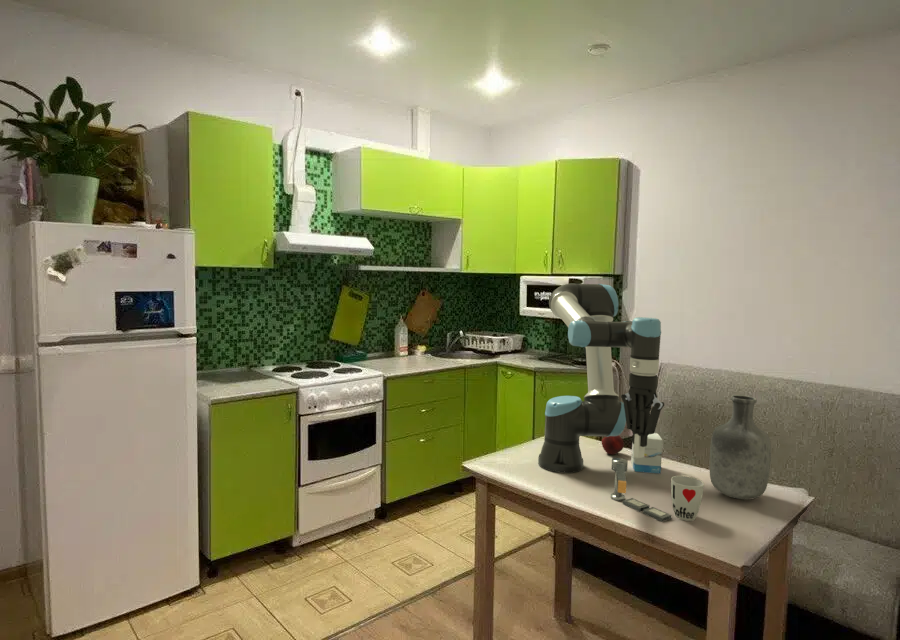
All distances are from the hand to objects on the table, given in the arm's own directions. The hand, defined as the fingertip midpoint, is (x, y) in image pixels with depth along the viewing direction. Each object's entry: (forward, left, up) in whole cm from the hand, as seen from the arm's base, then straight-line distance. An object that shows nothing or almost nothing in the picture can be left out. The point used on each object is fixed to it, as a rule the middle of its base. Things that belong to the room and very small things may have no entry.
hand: (638, 456), depth 154 cm
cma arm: (-1, -6, -6) cm, 8 cm away
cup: (+11, +6, -15) cm, 19 cm away
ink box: (-20, +29, -15) cm, 38 cm away
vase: (+9, +34, -15) cm, 38 cm away
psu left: (0, 0, -14) cm, 14 cm away
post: (-7, 0, -14) cm, 16 cm away
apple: (-36, +31, -15) cm, 49 cm away
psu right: (+7, 0, -14) cm, 16 cm away
